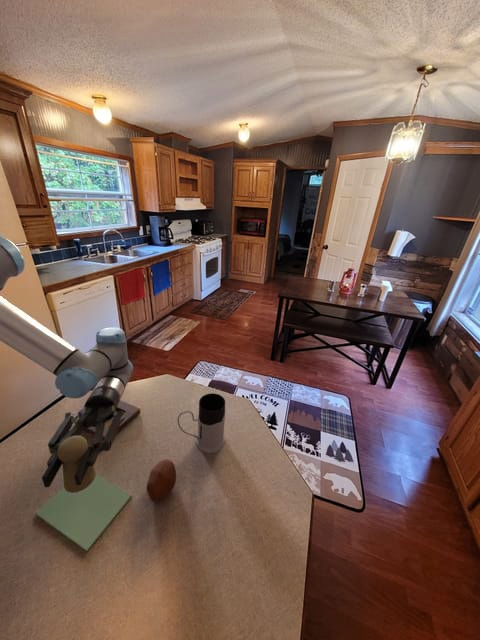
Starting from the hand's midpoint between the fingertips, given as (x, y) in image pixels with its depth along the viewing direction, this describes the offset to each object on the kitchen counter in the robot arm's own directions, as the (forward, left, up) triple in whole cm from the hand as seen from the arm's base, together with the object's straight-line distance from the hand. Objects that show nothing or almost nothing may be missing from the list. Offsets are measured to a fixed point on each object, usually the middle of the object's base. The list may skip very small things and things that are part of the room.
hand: (61, 481), depth 48 cm
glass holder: (+13, +31, -16) cm, 37 cm away
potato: (+11, +15, -16) cm, 24 cm away
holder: (-18, +25, -16) cm, 35 cm away
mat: (-2, +4, -16) cm, 16 cm away
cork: (-3, +5, -7) cm, 9 cm away
